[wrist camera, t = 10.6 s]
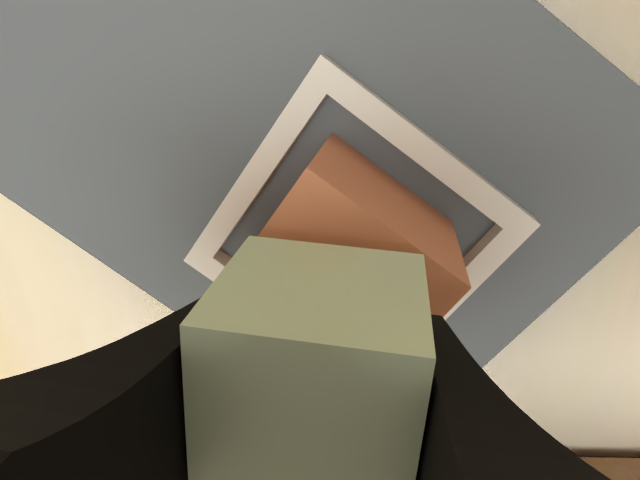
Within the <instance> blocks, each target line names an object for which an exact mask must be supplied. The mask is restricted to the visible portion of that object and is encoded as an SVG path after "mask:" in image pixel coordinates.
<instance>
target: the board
mask: <svg viewBox="0 0 640 480" xmlns="http://www.w3.org/2000/svg"><path fill="white" fill-rule="evenodd" d="M332 132H333V133H334V134H335V135H337V136H338V137H339V138H341V139H342V140H343V141H345V142H346V143H347V144H349V145H350V146H351V147H353V148H354V149H355V150H357V151H358V152H359V153H361V154H362V155H363V156H365V157H366V158H368V159H369V160H370V161H372V162H373V163H374V164H376V165H377V166H378V167H380V168H381V169H382V170H384V171H385V172H386V173H388V174H389V175H390V176H392V177H393V178H394V179H396V180H397V181H398V182H400V183H401V184H403V185H404V186H405V187H407V188H408V189H409V190H411V191H412V192H413V193H415V194H416V195H417V196H419V197H420V198H421V199H423V200H424V201H425V202H427V203H428V204H429V205H431V206H432V207H433V208H435V209H436V210H438V211H439V212H440V213H442V214H443V215H444V216H446V217H447V218H448V219H450V220H451V221H452V223H453V226H454V230H455V233H456V237H457V240H458V243H459V247H460V250H461V253H462V257H463V260H464V264H465V267H466V270H467V274H468V277H469V281H470V284H471V287H472V288H471V289H470V290H469V291H468V292H467V293H466V294H465V295H464V296H463V297H462V298H461V299H460V300H459V301H458V302H457V303H456V304H455V305H454V307H453V308H452V309H451V310H450V311H449V312H448V313H447V314H446V315H445V316H444V317H443V318H444V319H445V321H446V322H447V323H448V325H449V326H450V327H451V329H452V330H453V332H454V333H455V334H456V336H457V337H458V339H459V340H460V341H461V343H462V344H463V345H464V347H465V348H466V349H467V351H468V352H469V353H470V355H471V356H472V357H473V358H474V360H475V361H476V362H477V363H478V364H479V366H480V367H481V368H482V367H483V366H484V365H486V364H487V363H488V362H489V361H490V360H491V359H492V358H493V357H494V356H495V355H497V354H498V353H499V352H500V351H501V350H502V349H503V348H504V347H505V346H507V345H508V344H509V343H510V342H511V341H512V340H513V339H514V338H515V337H516V336H518V335H519V334H520V333H521V332H522V331H523V330H524V329H525V328H526V327H528V326H529V325H530V324H531V323H532V322H533V321H534V320H535V319H536V318H538V317H539V316H540V315H541V314H542V313H543V312H544V311H545V310H546V309H547V308H549V307H550V306H551V305H552V304H553V303H554V302H555V301H556V300H557V299H559V298H560V297H561V296H562V295H563V294H564V293H565V292H566V291H567V290H568V289H570V288H571V287H572V286H573V285H574V284H575V283H576V282H577V281H578V280H580V279H581V278H582V277H583V276H584V275H585V274H586V273H587V272H588V271H589V270H591V269H592V268H593V267H594V266H595V265H596V264H597V263H598V262H599V261H601V260H602V259H603V258H604V257H605V256H606V255H607V254H608V253H609V252H610V251H612V250H613V249H614V248H615V247H616V246H617V245H618V244H619V243H620V242H622V241H623V240H624V239H625V238H626V237H627V236H628V235H629V234H630V233H631V232H633V231H634V230H635V229H636V228H637V227H638V226H639V225H640V87H639V86H638V85H637V84H636V83H634V82H633V81H632V80H631V79H630V78H628V77H627V76H626V75H625V74H624V73H622V72H621V71H620V70H619V69H618V68H616V67H615V66H614V65H613V64H612V63H610V62H609V61H608V60H607V59H606V58H604V57H603V56H602V55H601V54H600V53H598V52H597V51H596V50H595V49H594V48H592V47H591V46H590V45H589V44H588V43H586V42H585V41H584V40H583V39H582V38H580V37H579V36H578V35H577V34H576V33H574V32H573V31H572V30H571V29H570V28H568V27H567V26H566V25H565V24H564V23H562V22H561V21H560V20H559V19H558V18H556V17H555V16H554V15H553V14H552V13H550V12H549V11H548V10H547V9H546V8H544V7H543V6H542V5H541V4H540V3H538V2H537V1H536V0H0V193H1V194H3V195H4V196H6V197H7V198H9V199H10V200H11V201H13V202H14V203H16V204H17V205H19V206H20V207H22V208H23V209H25V210H26V211H28V212H29V213H31V214H32V215H33V216H35V217H36V218H38V219H39V220H41V221H42V222H44V223H45V224H47V225H48V226H50V227H51V228H53V229H54V230H55V231H57V232H58V233H60V234H61V235H63V236H64V237H66V238H67V239H69V240H70V241H72V242H73V243H75V244H76V245H77V246H79V247H80V248H82V249H83V250H85V251H86V252H88V253H89V254H91V255H92V256H94V257H95V258H97V259H98V260H99V261H101V262H102V263H104V264H105V265H107V266H108V267H110V268H111V269H113V270H114V271H116V272H117V273H119V274H120V275H121V276H123V277H124V278H126V279H127V280H129V281H130V282H132V283H133V284H135V285H136V286H138V287H139V288H141V289H142V290H143V291H145V292H146V293H148V294H149V295H151V296H152V297H154V298H155V299H157V300H158V301H160V302H161V303H163V304H164V305H165V306H167V307H168V308H170V309H171V310H173V311H174V312H175V311H177V310H179V309H181V308H183V307H184V306H186V305H188V304H190V303H192V302H193V301H195V300H197V299H199V298H201V297H202V296H203V294H204V293H205V292H206V290H207V289H208V288H209V287H210V285H211V284H212V283H213V281H214V280H215V279H216V278H217V276H218V275H219V274H220V272H221V271H222V270H223V269H224V267H225V266H226V265H227V263H228V262H229V261H230V260H231V258H232V257H233V256H234V254H235V253H236V252H237V251H238V249H239V248H240V247H241V245H242V244H243V243H244V242H245V240H246V239H247V238H248V236H258V235H259V234H260V232H261V231H262V229H263V228H264V227H265V225H266V224H267V222H268V221H269V220H270V218H271V217H272V215H273V214H274V213H275V211H276V210H277V208H278V207H279V206H280V204H281V203H282V201H283V200H284V199H285V197H286V196H287V194H288V193H289V191H290V190H291V189H292V187H293V186H294V184H295V183H296V182H297V180H298V179H299V177H300V176H301V175H302V173H303V172H304V170H305V169H306V168H307V166H308V165H309V164H310V162H311V161H312V159H313V158H314V157H315V155H316V154H317V153H318V151H319V150H320V149H321V147H322V146H323V145H324V143H325V142H326V141H327V139H328V138H329V137H330V135H331V134H332Z"/></svg>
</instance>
